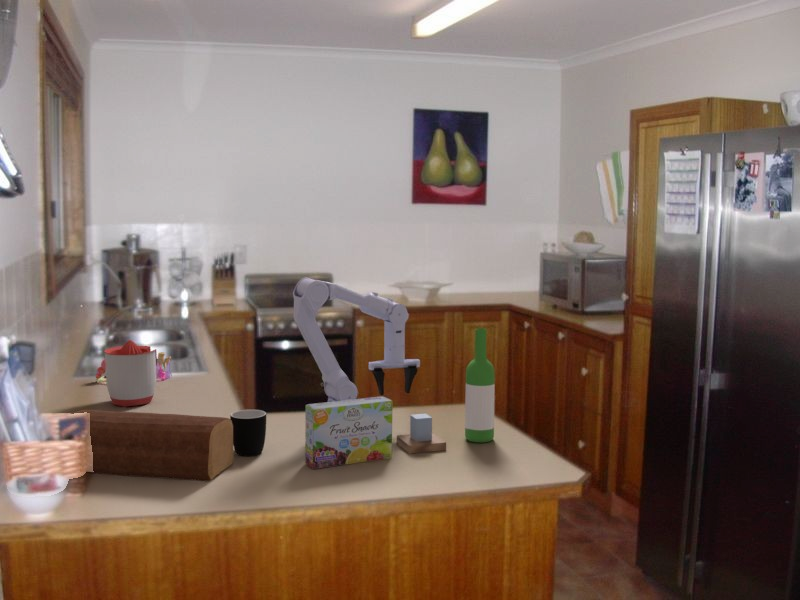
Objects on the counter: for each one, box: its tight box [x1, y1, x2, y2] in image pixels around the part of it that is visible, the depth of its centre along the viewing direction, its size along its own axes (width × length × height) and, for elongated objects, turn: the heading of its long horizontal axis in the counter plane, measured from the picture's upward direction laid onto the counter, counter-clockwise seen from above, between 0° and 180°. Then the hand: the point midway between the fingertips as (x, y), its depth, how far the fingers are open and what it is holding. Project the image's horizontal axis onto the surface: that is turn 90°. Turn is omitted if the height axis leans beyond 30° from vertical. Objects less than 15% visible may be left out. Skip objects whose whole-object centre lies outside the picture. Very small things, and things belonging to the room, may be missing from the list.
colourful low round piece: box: [95, 352, 172, 386], centre depth 306 cm, size 25×24×9 cm
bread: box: [70, 409, 234, 482], centre depth 206 cm, size 16×39×13 cm, turn 78°
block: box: [409, 413, 433, 442], centre depth 224 cm, size 4×4×6 cm
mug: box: [229, 409, 267, 457], centre depth 219 cm, size 12×9×10 cm
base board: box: [396, 431, 447, 455], centre depth 224 cm, size 10×10×2 cm
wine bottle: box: [464, 327, 496, 444], centre depth 229 cm, size 8×8×30 cm
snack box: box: [304, 395, 394, 470], centre depth 211 cm, size 21×6×15 cm, turn 117°
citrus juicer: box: [103, 339, 162, 408], centre depth 270 cm, size 16×17×20 cm
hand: (394, 393), depth 241 cm, fingers open, 7 cm apart
